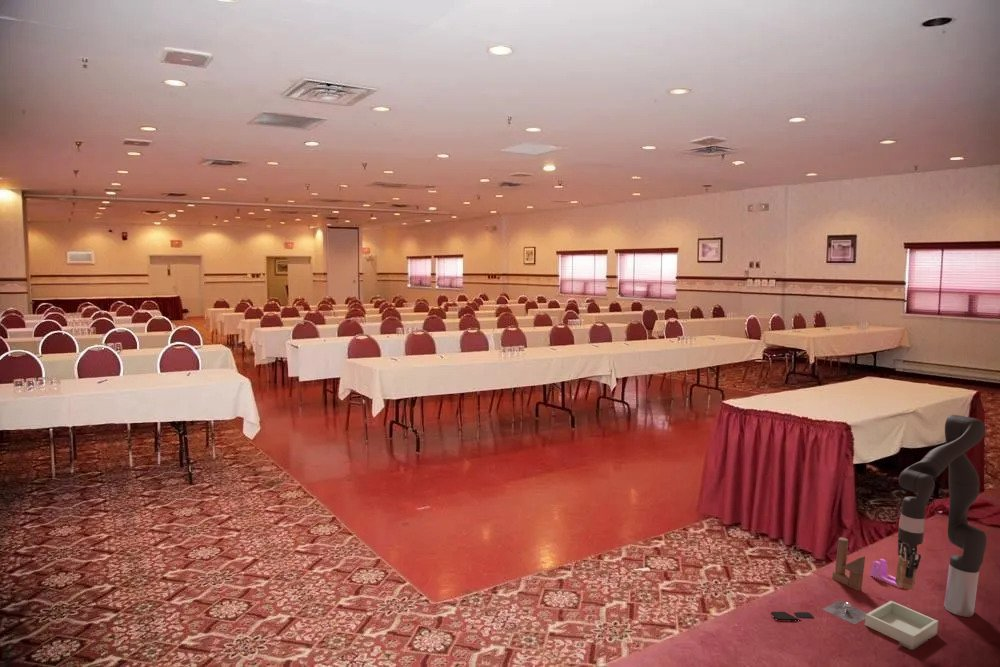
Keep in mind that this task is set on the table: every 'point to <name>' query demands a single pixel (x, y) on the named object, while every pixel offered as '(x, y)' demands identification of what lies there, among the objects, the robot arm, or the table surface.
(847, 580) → the brown wooden angled stand
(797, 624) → the table surface
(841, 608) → the stud plate
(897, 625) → the tray
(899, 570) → the strut
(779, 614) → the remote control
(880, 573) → the bracket
